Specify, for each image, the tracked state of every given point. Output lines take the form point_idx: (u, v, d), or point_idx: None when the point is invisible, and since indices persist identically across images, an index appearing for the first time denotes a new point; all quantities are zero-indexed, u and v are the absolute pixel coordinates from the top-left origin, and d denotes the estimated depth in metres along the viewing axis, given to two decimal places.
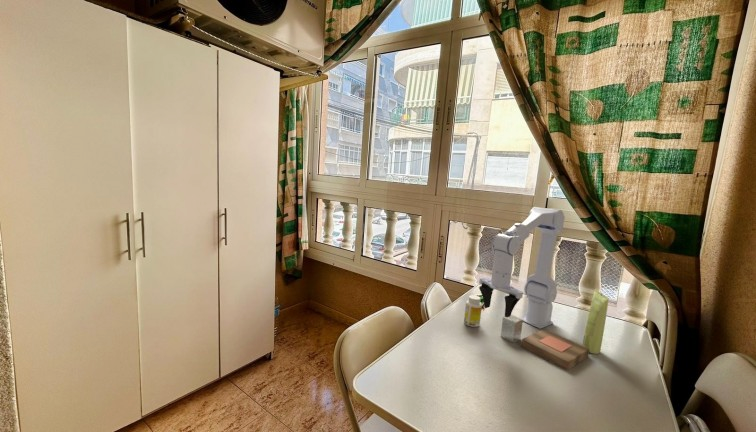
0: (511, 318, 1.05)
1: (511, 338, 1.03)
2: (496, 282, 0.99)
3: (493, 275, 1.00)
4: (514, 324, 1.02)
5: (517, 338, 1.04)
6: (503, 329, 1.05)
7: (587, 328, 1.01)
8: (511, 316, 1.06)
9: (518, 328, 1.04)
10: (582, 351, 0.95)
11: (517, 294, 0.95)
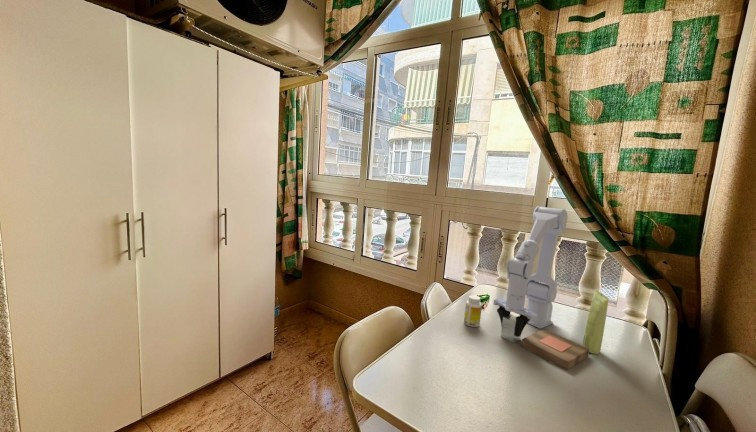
0: (511, 318, 1.05)
1: (511, 338, 1.03)
2: (511, 304, 1.02)
3: (508, 297, 1.03)
4: (514, 324, 1.02)
5: (517, 338, 1.04)
6: (503, 329, 1.05)
7: (587, 328, 1.01)
8: (511, 316, 1.06)
9: None
10: (582, 351, 0.95)
11: (532, 317, 0.99)
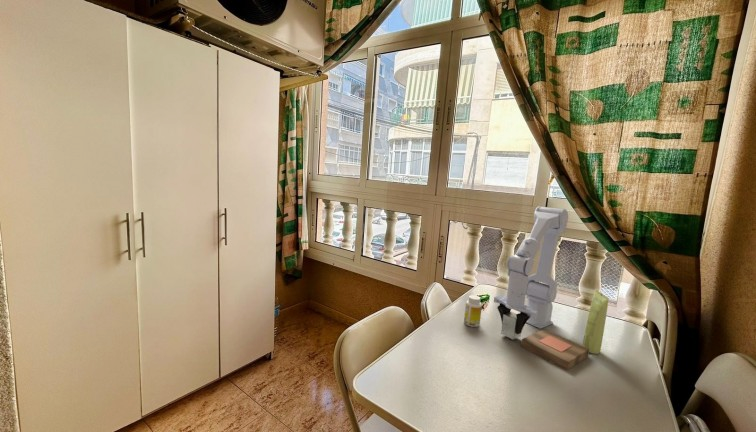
0: (511, 315, 1.05)
1: (511, 335, 1.03)
2: (511, 301, 1.02)
3: (508, 295, 1.03)
4: (514, 321, 1.02)
5: (517, 335, 1.04)
6: (503, 326, 1.05)
7: (587, 328, 1.01)
8: (511, 313, 1.06)
9: None
10: (582, 351, 0.95)
11: (532, 314, 0.98)
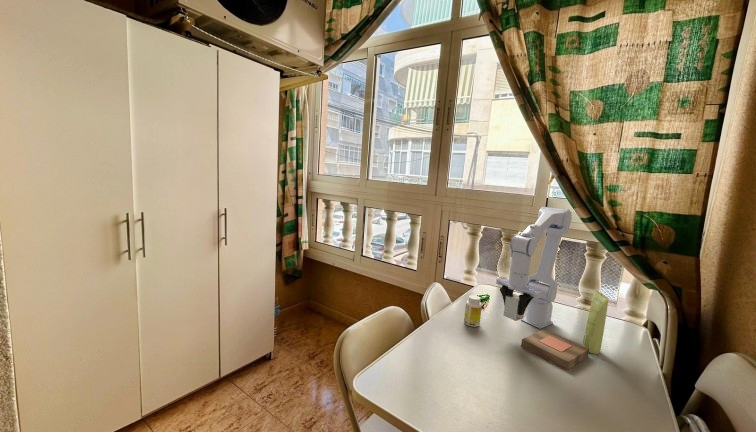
0: (514, 296, 1.04)
1: (514, 317, 1.02)
2: (514, 282, 1.01)
3: (511, 276, 1.02)
4: (517, 302, 1.01)
5: (520, 317, 1.03)
6: (506, 308, 1.04)
7: (587, 328, 1.01)
8: (514, 295, 1.05)
9: None
10: (582, 351, 0.95)
11: (535, 294, 0.98)
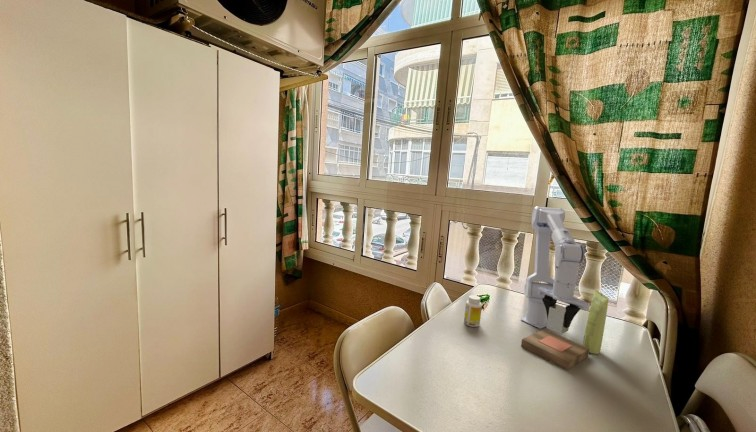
0: (558, 308, 0.97)
1: (559, 329, 0.95)
2: (560, 293, 0.95)
3: (556, 285, 0.96)
4: (563, 314, 0.94)
5: (565, 329, 0.96)
6: (550, 320, 0.98)
7: (587, 328, 1.01)
8: (558, 306, 0.99)
9: None
10: (582, 351, 0.95)
11: (584, 306, 0.91)
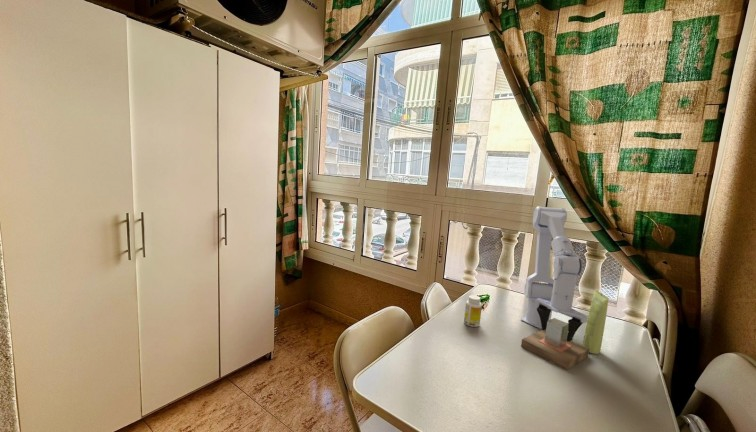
0: (556, 322, 0.98)
1: (557, 344, 0.96)
2: (558, 304, 0.95)
3: (554, 297, 0.96)
4: (561, 329, 0.95)
5: (563, 344, 0.97)
6: (547, 334, 0.98)
7: (587, 328, 1.01)
8: (556, 320, 0.99)
9: (564, 333, 0.97)
10: (582, 351, 0.95)
11: (582, 318, 0.91)
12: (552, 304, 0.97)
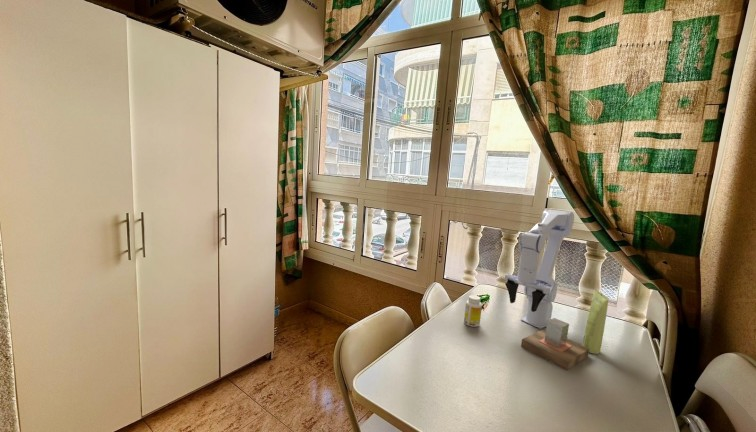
0: (556, 322, 0.98)
1: (557, 344, 0.96)
2: (523, 278, 1.03)
3: (520, 271, 1.04)
4: (561, 329, 0.95)
5: (563, 344, 0.97)
6: (547, 334, 0.98)
7: (587, 328, 1.01)
8: (556, 320, 0.99)
9: (564, 333, 0.97)
10: (582, 351, 0.95)
11: (544, 289, 1.00)
12: (518, 278, 1.05)
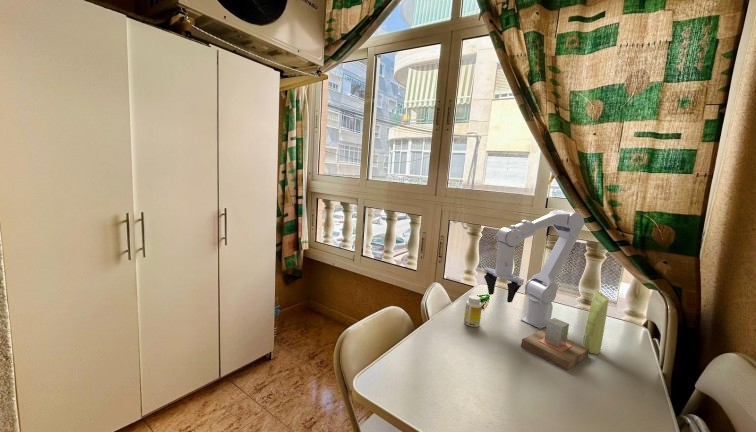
0: (556, 322, 0.98)
1: (557, 344, 0.96)
2: (500, 270, 1.10)
3: (497, 265, 1.11)
4: (561, 329, 0.95)
5: (563, 344, 0.97)
6: (547, 334, 0.98)
7: (587, 328, 1.01)
8: (556, 320, 0.99)
9: (564, 333, 0.97)
10: (582, 351, 0.95)
11: (518, 281, 1.06)
12: (495, 271, 1.12)
